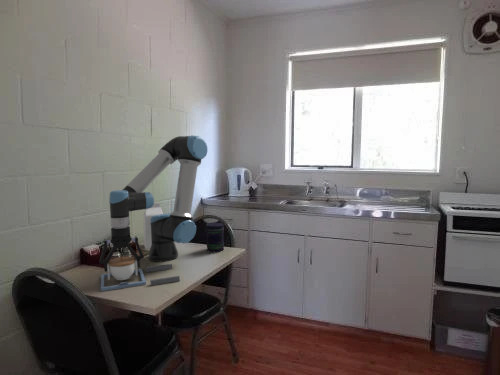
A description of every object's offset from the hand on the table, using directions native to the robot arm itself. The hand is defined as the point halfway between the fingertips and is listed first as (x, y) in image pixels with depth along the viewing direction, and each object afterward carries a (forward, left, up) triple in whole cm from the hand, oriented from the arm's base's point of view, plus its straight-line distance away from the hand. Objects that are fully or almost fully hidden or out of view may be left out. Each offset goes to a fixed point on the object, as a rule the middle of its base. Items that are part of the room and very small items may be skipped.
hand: (122, 276), depth 147 cm
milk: (-20, -51, -2) cm, 55 cm away
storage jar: (-51, -28, -2) cm, 58 cm away
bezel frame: (0, 0, -2) cm, 2 cm away
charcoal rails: (-16, +2, -2) cm, 17 cm away
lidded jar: (0, 0, -1) cm, 1 cm away
